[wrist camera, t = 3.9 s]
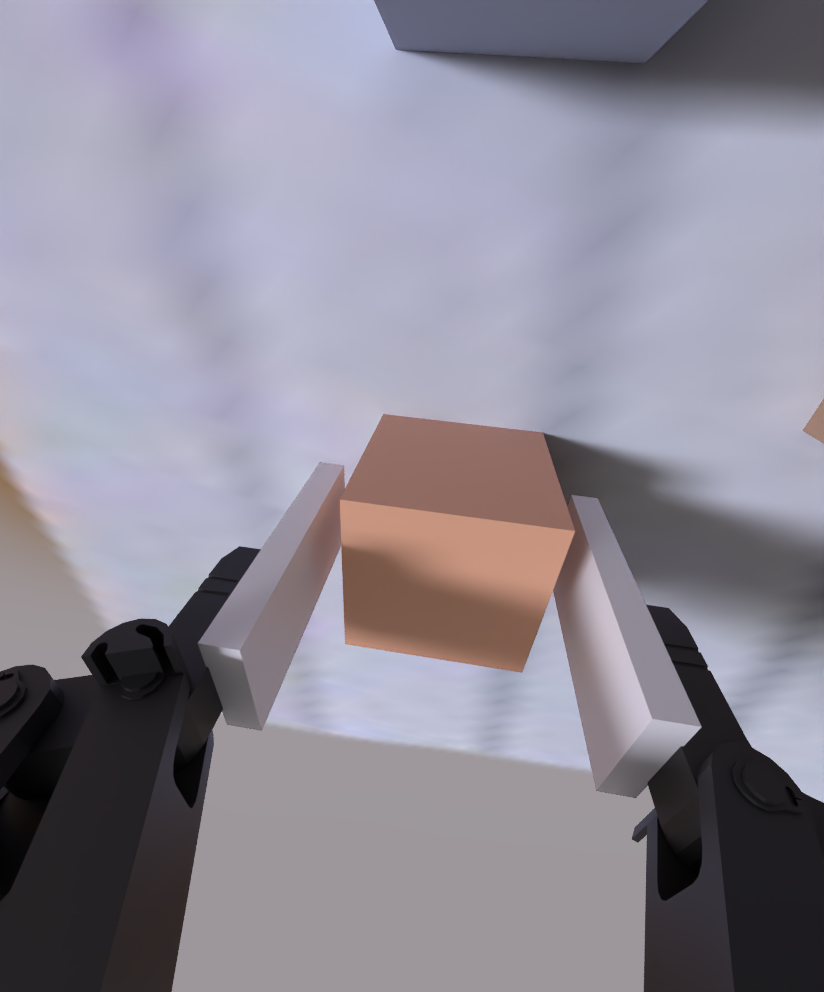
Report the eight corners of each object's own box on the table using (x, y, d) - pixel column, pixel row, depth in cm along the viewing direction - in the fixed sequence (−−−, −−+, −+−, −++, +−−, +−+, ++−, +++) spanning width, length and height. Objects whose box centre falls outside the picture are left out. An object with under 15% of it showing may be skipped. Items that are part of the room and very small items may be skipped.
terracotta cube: (542, 431, 12) (575, 531, 8) (509, 552, 15) (522, 672, 11) (383, 413, 13) (339, 499, 9) (380, 534, 16) (345, 643, 11)
